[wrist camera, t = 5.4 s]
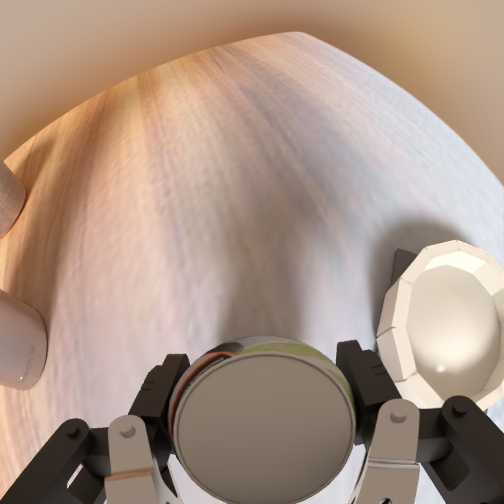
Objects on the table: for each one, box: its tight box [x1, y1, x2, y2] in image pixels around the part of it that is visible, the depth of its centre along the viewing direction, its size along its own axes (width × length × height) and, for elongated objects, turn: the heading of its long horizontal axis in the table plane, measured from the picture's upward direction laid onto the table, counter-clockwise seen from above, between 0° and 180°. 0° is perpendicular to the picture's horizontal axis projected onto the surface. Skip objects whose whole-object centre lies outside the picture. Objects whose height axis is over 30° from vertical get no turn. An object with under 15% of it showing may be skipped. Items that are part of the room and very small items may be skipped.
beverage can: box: [167, 335, 357, 504], centre depth 11 cm, size 6×7×12 cm
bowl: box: [376, 240, 504, 411], centre depth 15 cm, size 13×13×3 cm
